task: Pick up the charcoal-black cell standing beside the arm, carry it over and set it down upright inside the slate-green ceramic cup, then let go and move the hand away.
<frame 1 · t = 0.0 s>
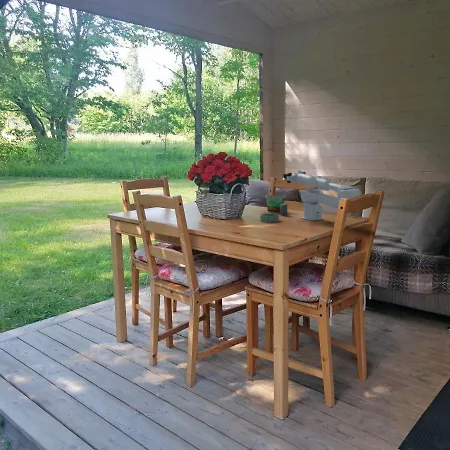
hand: (289, 175, 260), 22 cm above the table, tool horizontal, fingers open, 7 cm apart
cup: (269, 220, 245), on the table
cell: (283, 215, 260), on the table
food container: (274, 211, 273), on the table
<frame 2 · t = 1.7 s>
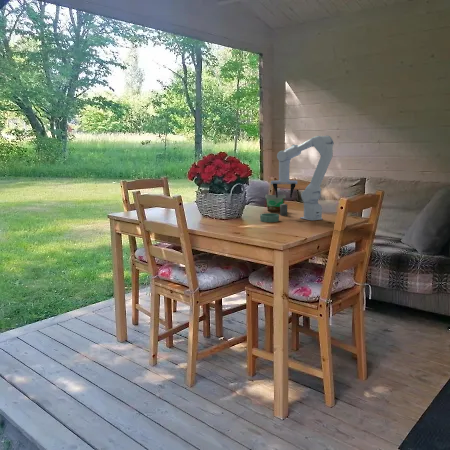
hand: (283, 197, 258), 10 cm above the table, tool pointing down, fingers open, 7 cm apart
nothing on the table moved.
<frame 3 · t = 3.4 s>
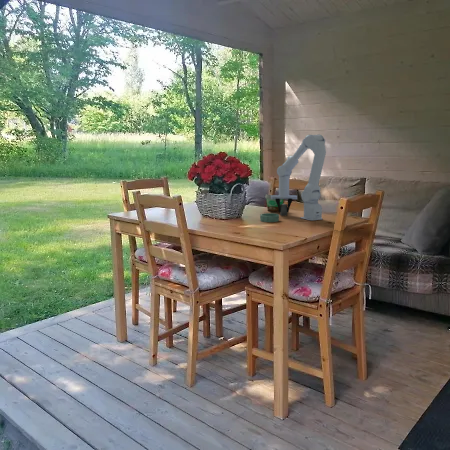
hand: (283, 212, 260), 2 cm above the table, tool pointing down, fingers closed on cell, 4 cm apart
cell: (283, 215, 260), on the table, touching gripper
everything else where it was.
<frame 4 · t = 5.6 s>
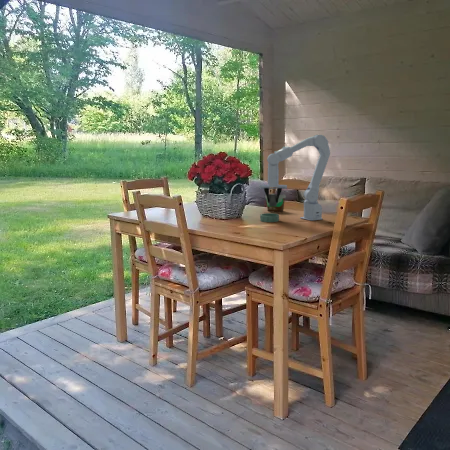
hand: (272, 202, 247), 9 cm above the table, tool pointing down, fingers closed on cell, 4 cm apart
cell: (272, 205, 247), point 7 cm above the table, touching gripper
everything else where it was.
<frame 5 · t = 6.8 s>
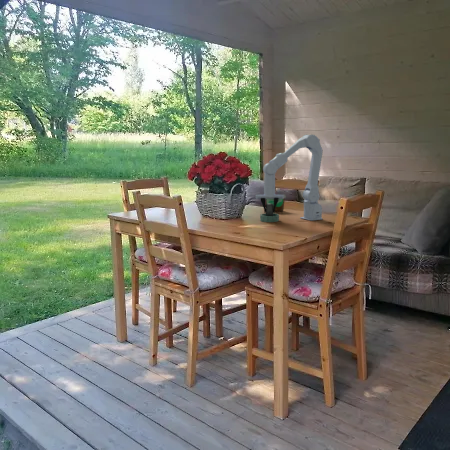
hand: (269, 212, 244), 4 cm above the table, tool pointing down, fingers closed on cell, 4 cm apart
cell: (269, 215, 245), point 3 cm above the table, touching gripper
everything else where it was.
when the fingers open (4 cm above the table, at t = 7.7 s): cell drops 1 cm, resting on cup.
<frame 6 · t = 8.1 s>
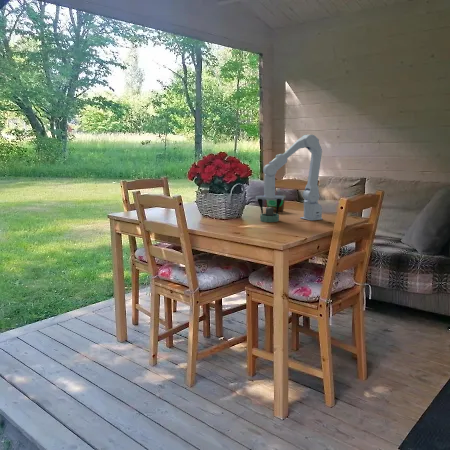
hand: (269, 213, 244), 4 cm above the table, tool pointing down, fingers open, 7 cm apart
cell: (269, 219, 245), resting on cup
everything else where it was.
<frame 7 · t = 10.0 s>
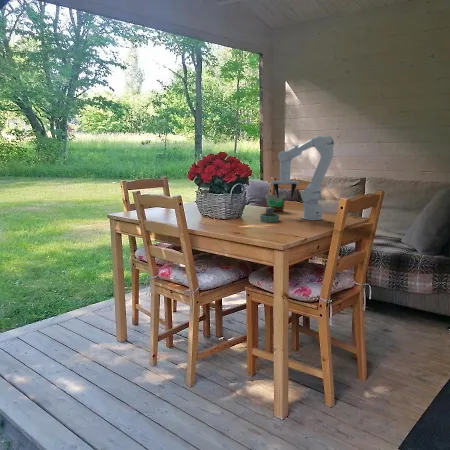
hand: (284, 197, 258), 10 cm above the table, tool pointing down, fingers open, 7 cm apart
nothing on the table moved.
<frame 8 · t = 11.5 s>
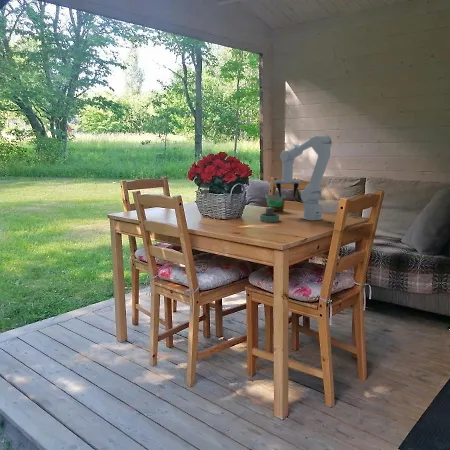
hand: (287, 196, 261), 10 cm above the table, tool pointing down, fingers open, 7 cm apart
nothing on the table moved.
at the end: cell 0.1 cm off-centre on the cup, point 0.5 cm above the cup's base; cell tilted 0°; the gripper is holding nothing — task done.
